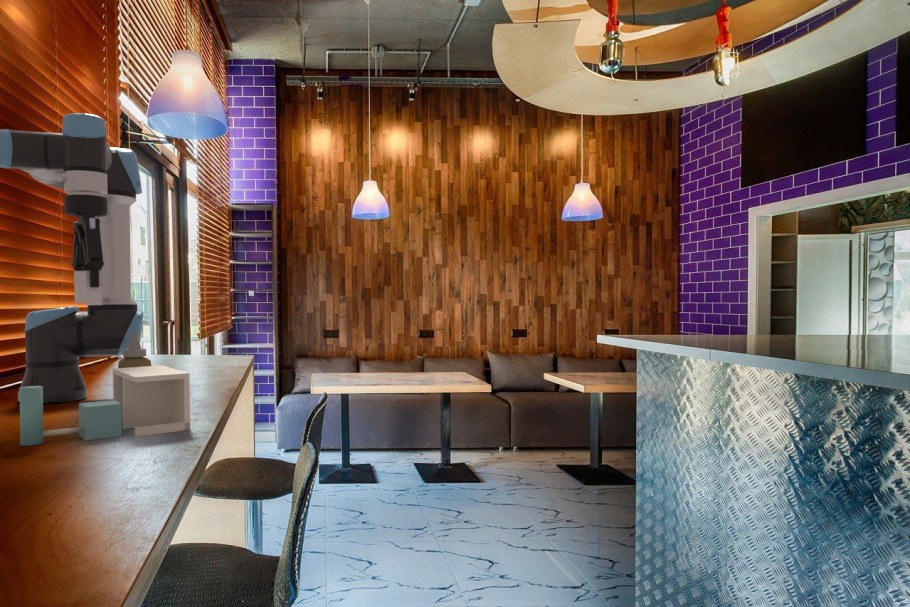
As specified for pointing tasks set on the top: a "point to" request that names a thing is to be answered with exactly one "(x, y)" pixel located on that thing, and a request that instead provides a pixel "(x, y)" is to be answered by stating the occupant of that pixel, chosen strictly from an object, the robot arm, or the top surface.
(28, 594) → the top surface
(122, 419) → the cream cubby shelf
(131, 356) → the squeeze bottle
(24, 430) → the teal block
